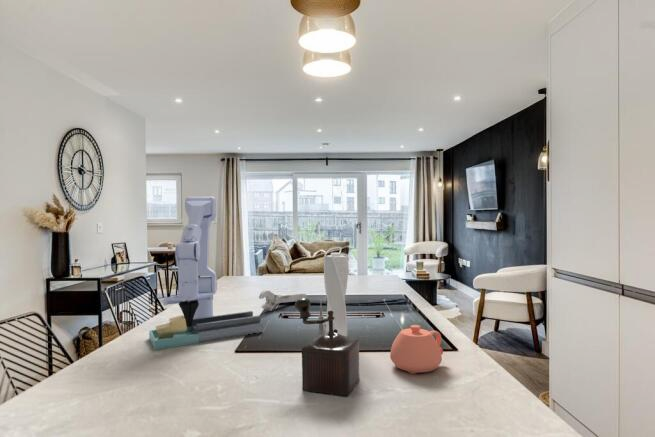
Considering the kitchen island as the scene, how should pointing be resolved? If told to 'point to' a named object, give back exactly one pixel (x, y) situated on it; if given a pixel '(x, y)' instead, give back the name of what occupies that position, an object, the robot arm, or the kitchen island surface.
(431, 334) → the sugar bowl
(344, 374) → the brown manual coffee grinder
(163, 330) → the chip
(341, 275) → the skyscraper
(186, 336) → the tray
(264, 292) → the wrench
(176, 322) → the wooden cube
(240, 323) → the slot block
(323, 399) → the kitchen island surface
